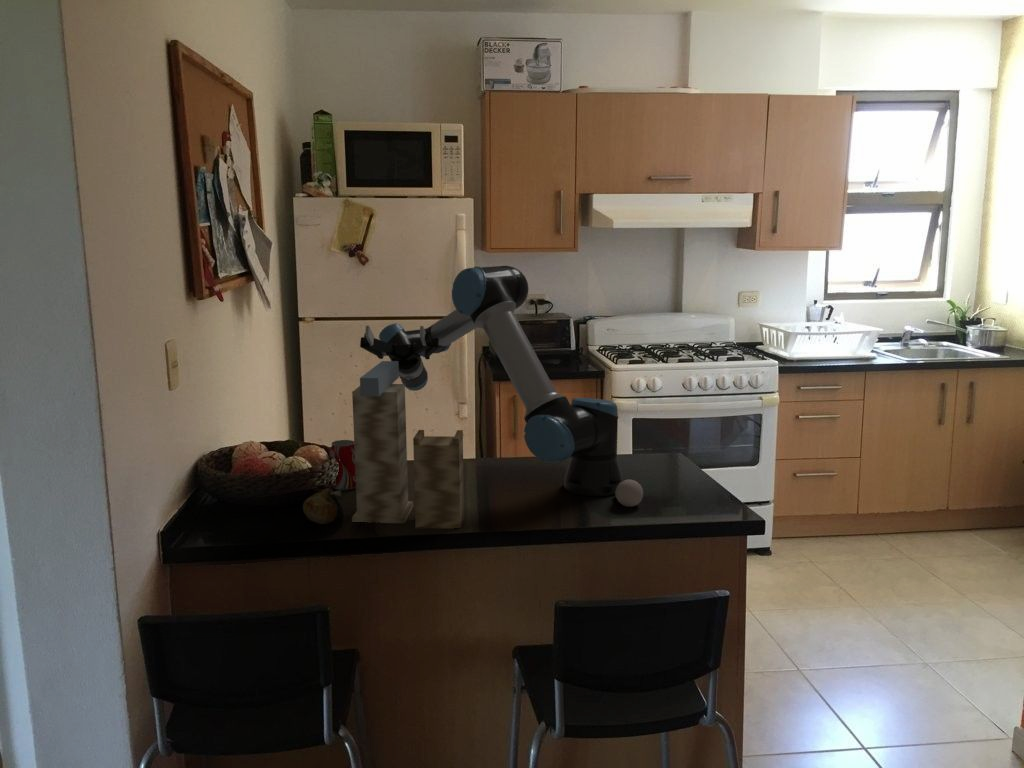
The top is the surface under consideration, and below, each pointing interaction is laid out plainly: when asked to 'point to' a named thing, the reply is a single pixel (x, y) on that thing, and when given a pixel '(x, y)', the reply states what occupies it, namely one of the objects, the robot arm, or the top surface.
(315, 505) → the onion
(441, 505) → the rest block
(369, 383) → the rod
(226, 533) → the top surface
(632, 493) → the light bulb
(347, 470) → the soda can
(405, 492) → the stand
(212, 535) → the top surface
